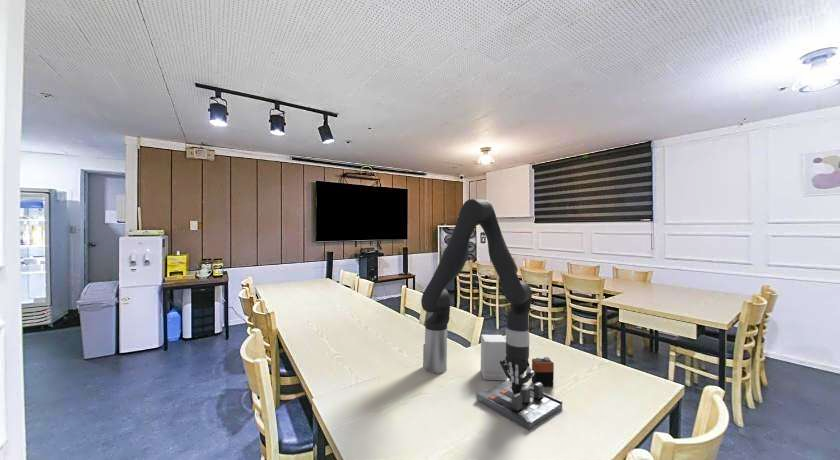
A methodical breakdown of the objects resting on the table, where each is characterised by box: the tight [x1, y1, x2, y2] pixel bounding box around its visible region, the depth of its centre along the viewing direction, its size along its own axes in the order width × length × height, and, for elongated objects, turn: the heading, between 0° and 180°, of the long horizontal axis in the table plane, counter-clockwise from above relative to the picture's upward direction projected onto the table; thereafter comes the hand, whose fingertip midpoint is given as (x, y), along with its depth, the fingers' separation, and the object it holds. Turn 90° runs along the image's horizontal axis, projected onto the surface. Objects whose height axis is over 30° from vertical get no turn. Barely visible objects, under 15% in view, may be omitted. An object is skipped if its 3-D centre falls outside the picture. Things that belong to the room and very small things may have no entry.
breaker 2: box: [520, 386, 530, 403], centre depth 103 cm, size 2×2×4 cm
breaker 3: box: [533, 382, 544, 399], centre depth 106 cm, size 2×2×4 cm
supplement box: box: [480, 334, 508, 381], centre depth 127 cm, size 9×9×15 cm
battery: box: [531, 356, 555, 388], centre depth 120 cm, size 4×7×10 cm, turn 94°
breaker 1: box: [512, 393, 522, 411], centre depth 99 cm, size 2×2×4 cm
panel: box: [476, 378, 563, 432], centre depth 105 cm, size 20×19×3 cm
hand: (516, 393), depth 106 cm, fingers closed
